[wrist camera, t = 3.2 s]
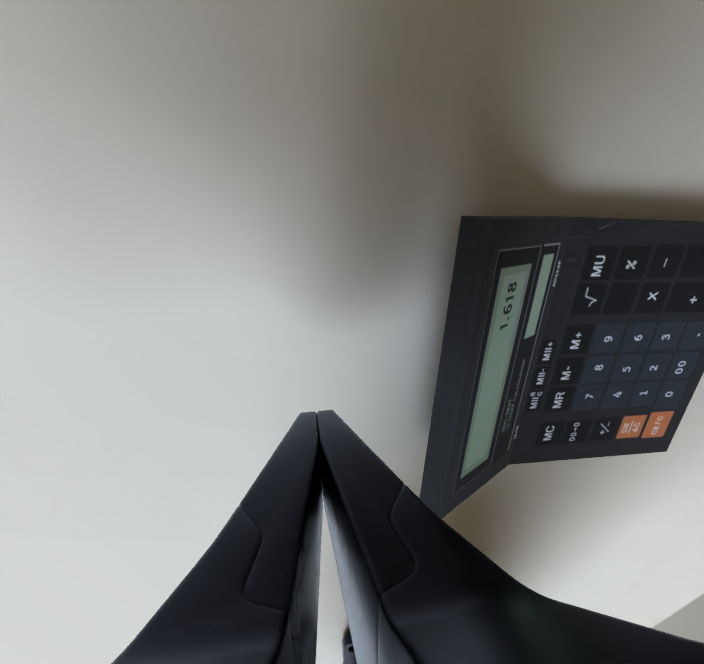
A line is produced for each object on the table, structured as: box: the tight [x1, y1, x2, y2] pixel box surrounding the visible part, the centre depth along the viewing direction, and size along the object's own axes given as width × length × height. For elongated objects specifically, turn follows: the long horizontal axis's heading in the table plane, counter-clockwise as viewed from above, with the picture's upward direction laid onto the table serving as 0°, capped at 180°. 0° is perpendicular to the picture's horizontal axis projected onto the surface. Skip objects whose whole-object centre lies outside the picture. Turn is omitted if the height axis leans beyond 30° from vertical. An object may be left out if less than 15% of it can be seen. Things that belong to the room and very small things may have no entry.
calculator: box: [420, 216, 704, 519], centre depth 12 cm, size 9×12×3 cm
